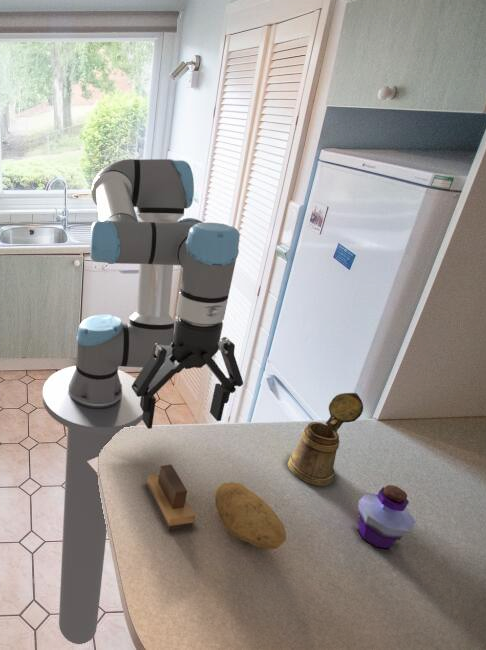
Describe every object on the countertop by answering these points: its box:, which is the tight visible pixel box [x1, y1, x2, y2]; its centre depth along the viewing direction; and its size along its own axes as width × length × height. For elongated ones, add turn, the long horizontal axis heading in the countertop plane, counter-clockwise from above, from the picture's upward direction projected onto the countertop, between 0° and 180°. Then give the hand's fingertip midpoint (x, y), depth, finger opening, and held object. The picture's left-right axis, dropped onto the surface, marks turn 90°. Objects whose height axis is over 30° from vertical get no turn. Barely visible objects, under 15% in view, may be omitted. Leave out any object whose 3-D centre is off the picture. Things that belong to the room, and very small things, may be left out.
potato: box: [214, 481, 288, 550], centre depth 86 cm, size 10×14×8 cm
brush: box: [146, 464, 196, 532], centre depth 91 cm, size 11×5×8 cm, turn 9°
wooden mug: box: [287, 392, 364, 486], centre depth 99 cm, size 9×14×18 cm, turn 118°
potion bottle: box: [357, 484, 417, 551], centre depth 84 cm, size 9×9×12 cm
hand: (181, 420), depth 84 cm, fingers open, 13 cm apart
